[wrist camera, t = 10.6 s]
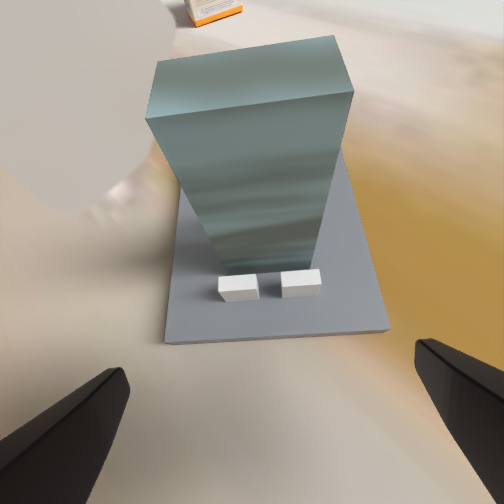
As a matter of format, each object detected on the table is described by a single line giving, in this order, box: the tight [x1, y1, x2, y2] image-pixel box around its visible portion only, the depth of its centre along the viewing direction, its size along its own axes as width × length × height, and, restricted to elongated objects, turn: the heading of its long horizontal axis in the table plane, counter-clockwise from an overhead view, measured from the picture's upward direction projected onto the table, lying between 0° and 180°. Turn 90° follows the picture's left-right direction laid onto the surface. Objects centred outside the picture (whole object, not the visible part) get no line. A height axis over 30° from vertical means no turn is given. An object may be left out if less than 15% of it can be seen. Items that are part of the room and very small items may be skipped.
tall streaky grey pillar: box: [145, 35, 354, 276], centre depth 14 cm, size 4×6×13 cm, turn 92°
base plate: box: [164, 146, 391, 345], centre depth 21 cm, size 20×15×4 cm
